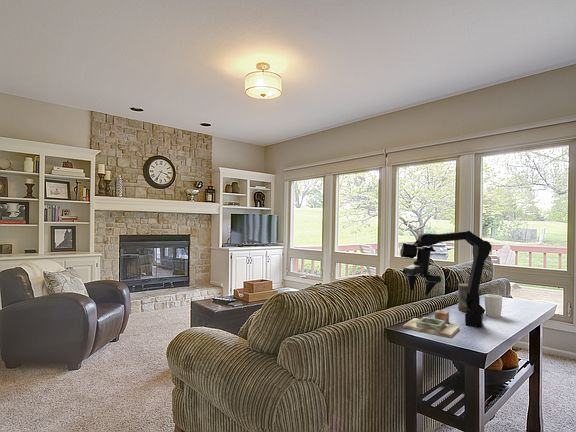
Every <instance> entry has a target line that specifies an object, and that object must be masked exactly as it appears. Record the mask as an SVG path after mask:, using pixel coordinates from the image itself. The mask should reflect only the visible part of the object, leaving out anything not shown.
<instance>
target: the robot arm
mask: <svg viewBox="0 0 576 432" xmlns="http://www.w3.org/2000/svg"><path fill="white" fill-rule="evenodd" d="M462 240H465V242H467V243H468V244H469V245H471V246H472V256H473V260H472V265H471V270H470V273H469V275H470V276H469V278H468V282H467V284H468V287H467V289H466V290H465V291H463V290H462V294H461V297H460V299H461V302H462V304H463V305H464V306H465V308H466V309H467V312H465V314H464V323H465V326H470V327H474V328H479V329H480V328H483V326H484V320H483V319H484V316H483V315H484V314H485V313H486V309H485V307H483V306H482V305H481V303H480V300H481V299H480V298H481V297H480V292H479V289H480V285H481V281H482V275H483V271H484V267H485V262H486V260H487V258H488V257H489V255H490V254H491V251H492V247H493V246H492V244H491V242H489V241H487V240H484V239H482V238H480V237H479V236H477V235H476V234H475V233H474V232H472V231H471V230H463V231H454V232H445V233H429V232H428V233H425V232H424V233H420V234H419V236H418V237H417V240H415V241H414V243H406V242H402V245H401V247H400V255H399V256H400V258H405V259H415V258H416V260H414V261H413V263H412V264H410V265H408V266H405V267H404V268H403V269H402V274H404V275H403V276H405V278H406V279H407V281H408V284H409V289H410V291H414V288H415V285H416V281H417V279H418V277H421V278H424V279H425V280H424V283H425V292H424V293H425V296H428V295H429V294H430V292H431V291H432V290H433V289H434V287H435V286H436V285H437V284H439V283H442V277H441V275H438V274H433V273H431V272H430V271H429V269H430V266H432V263H431V262H430V261H431V254H432V253H435V252H436V250H435V249H434V247H433V246H434V245H436V244H437V245H438V244H440V243H445V242H452V241H453V242H454V241H455V242H456V241H462ZM431 252H432V253H431Z"/></svg>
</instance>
